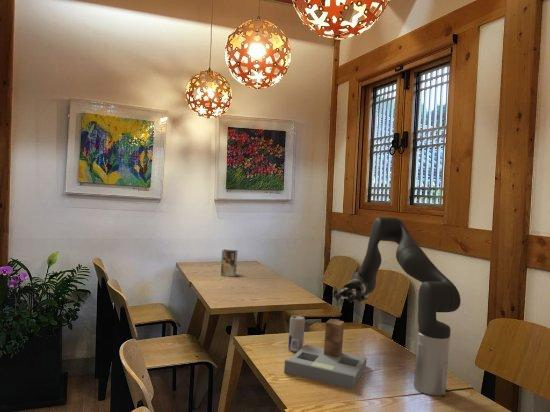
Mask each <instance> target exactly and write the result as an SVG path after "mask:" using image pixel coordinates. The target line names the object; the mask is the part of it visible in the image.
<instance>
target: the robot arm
mask: <svg viewBox="0 0 550 412" xmlns="http://www.w3.org/2000/svg"><path fill="white" fill-rule="evenodd" d="M381 241H383V242H394V243H396V244H397V245H398V246H397V248H396V250H395V251H396V252H395V259H396V261H397V264H398V265H399V266H400V268H401V269H402V270H403V271H404V272H405V273H406V274H407V275H408V276H409V277H411V278H413V279H415V280H416V281H418V282H420V283H421V284H420V285H419V289H418V296H417V297H418V298H417V324H418V325H417V326H418V329H417V331H418V332H417V342H416V355H415V356H416V357H415V367H414V379H413V387H414V389H416V390H417V391H419V392H420V393H422V394H425V395H429V396H442V395H444V397H446V389H447V378H448V366H449V355H450V354H449V353H450V340H451V331H452V329H451V327H450V326H449V325H448V324H446V322H445V323H444V322H442V321H439V320H437V313H453V312H456V311H457V310H458V309H460V306H461V302H462V301H461V295H460V291H459V290H458V288H457V286H456V285H455V284H454V282H452V281H451V280H450V279H449V278H448V277H447V276H446V275H445V274H444V273H442V272H441V271H440V270H439V268H437V266H436V265H435V263H433V262H432V261H431V259H430V258H429V257H428V255H427V254H426V253H425V252H424V250H423V249H422V248H421V247H420V246H419V245H418V243H417V242H416V241H415V239H414V238H413V237H412V236H411V234H410V232H409V230H408V229H407V227H406V225H405V224H404V223H403V221H402V220H401V219H399V218H396V217H388V216H378V217H376V218H375V219H374V221H373V223H372V226H371V230H370V234H369V239H368V243H367V249H366V253H365V256H364V258H363V261H362V263H361V265H360V269H359V270H360V271H356V272H354V273H353V274H352V276H351V278H350V280H349V281H348V282H346V283H345V284H344V286H343V287H342V288H340V289H339V288H337V287H336V286H335V287H333V288H332V297H333V298H335V300H336V301H339V300H341V299H342V300H344V299H346V300H347V301H348V302H349V303H352V302H363V301H366V300H368V296H369V294H371V293H373V292H374V290H375V288H376V285H377V284H376V283H377V274H378V271H379V270H380V267H381V264H382V254H381V252H380V250H379V243H380V242H381Z"/></svg>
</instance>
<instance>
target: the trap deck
mask: <svg viewBox="0 0 550 412" xmlns="http://www.w3.org/2000/svg"><path fill="white" fill-rule="evenodd" d="M366 367H367V357H366V356H361V355H357V354H351V353H347V352H343V351H342V353H341V354H340V356H339V357H333V356H329V355H324V347H319V346H314V345H309V344H303V347H302V348H301V349H300V350H299V351H298V352H295V353H294V354H293V355H292V356H291V357H290V358H289V359H285V360H284V367H283V368H284V370H283V373H284V374H287V375H291V376H296V377H300V378H304V379H308V380H313V381H317V382H320V383H325V384H329V385H333V386H337V387H340V388H345V389H349V390H353V389H354V387H355V385H356V384H357V382H358V381H359V379H360V377H361V375H362V374H363V372H364V370H365V368H366Z"/></svg>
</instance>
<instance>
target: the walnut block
mask: <svg viewBox="0 0 550 412" xmlns="http://www.w3.org/2000/svg"><path fill="white" fill-rule="evenodd" d="M344 328H345V321H343V320H337V319H332V318H329V319H328V320H327V321H326V322H325V331H324V344H323V345H324V346H323V348H324V355H329V356H333V357H339V356H340V354H341V353H342V352H343V342H344V338H343V337H344Z"/></svg>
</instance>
